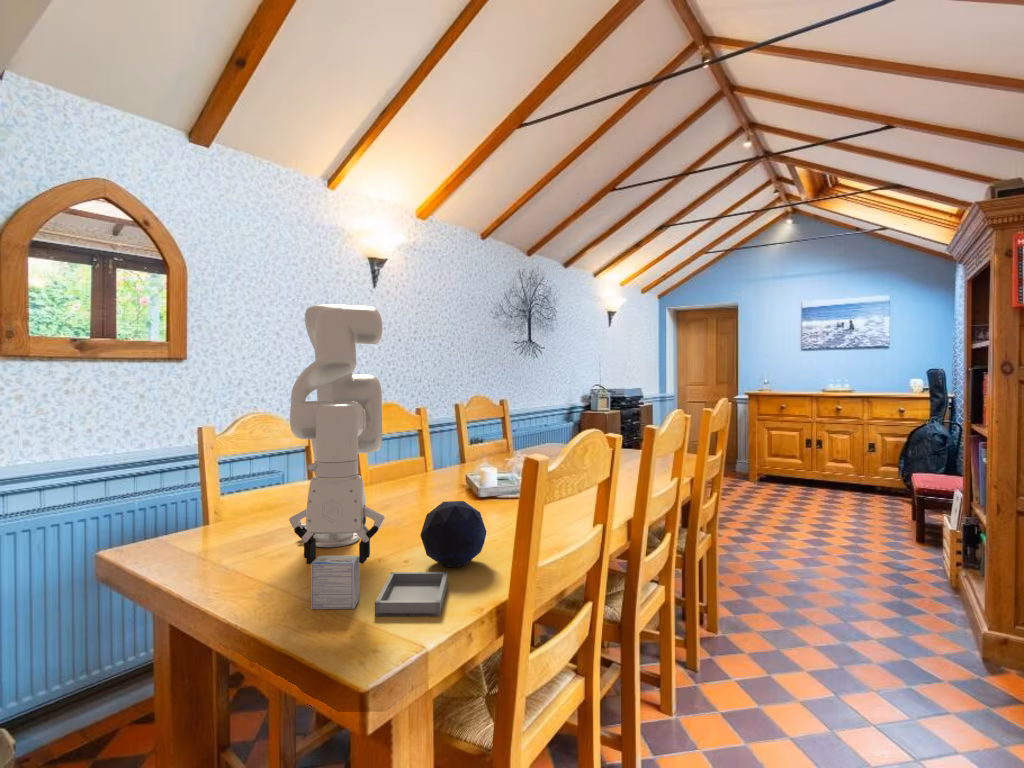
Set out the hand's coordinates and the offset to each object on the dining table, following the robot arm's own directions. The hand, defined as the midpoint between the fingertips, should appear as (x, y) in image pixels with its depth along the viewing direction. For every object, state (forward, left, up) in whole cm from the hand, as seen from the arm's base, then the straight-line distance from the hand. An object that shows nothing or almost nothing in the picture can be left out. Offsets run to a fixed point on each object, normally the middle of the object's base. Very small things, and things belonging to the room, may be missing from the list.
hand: (337, 561), depth 102 cm
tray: (+14, +3, -8) cm, 16 cm away
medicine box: (0, 0, -8) cm, 8 cm away
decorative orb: (+20, +22, -8) cm, 31 cm away
